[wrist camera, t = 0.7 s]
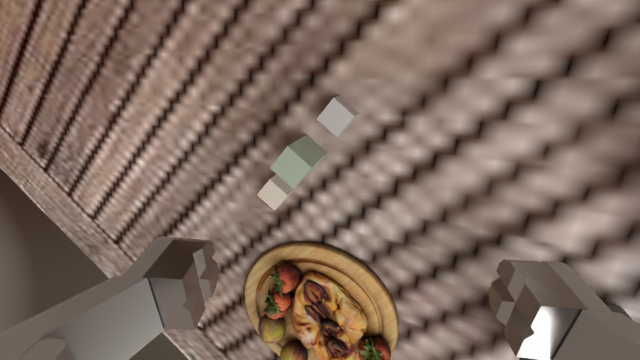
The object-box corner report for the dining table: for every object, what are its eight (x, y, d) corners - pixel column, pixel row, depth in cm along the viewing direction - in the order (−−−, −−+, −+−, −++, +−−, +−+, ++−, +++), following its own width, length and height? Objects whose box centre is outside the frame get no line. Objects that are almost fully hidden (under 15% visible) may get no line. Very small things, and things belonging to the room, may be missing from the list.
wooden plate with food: (435, 305, 53) (438, 342, 46) (346, 394, 67) (337, 434, 59) (286, 207, 56) (266, 227, 49) (229, 311, 70) (206, 338, 62)
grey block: (339, 95, 46) (333, 97, 42) (359, 113, 46) (354, 116, 42) (323, 115, 48) (316, 119, 44) (342, 132, 48) (336, 137, 44)
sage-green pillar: (306, 134, 49) (287, 145, 42) (327, 152, 49) (311, 167, 42) (291, 153, 51) (270, 168, 44) (311, 171, 51) (293, 188, 44)
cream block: (279, 171, 53) (269, 179, 50) (296, 186, 53) (287, 195, 50) (267, 186, 55) (257, 195, 51) (283, 201, 55) (274, 210, 51)
